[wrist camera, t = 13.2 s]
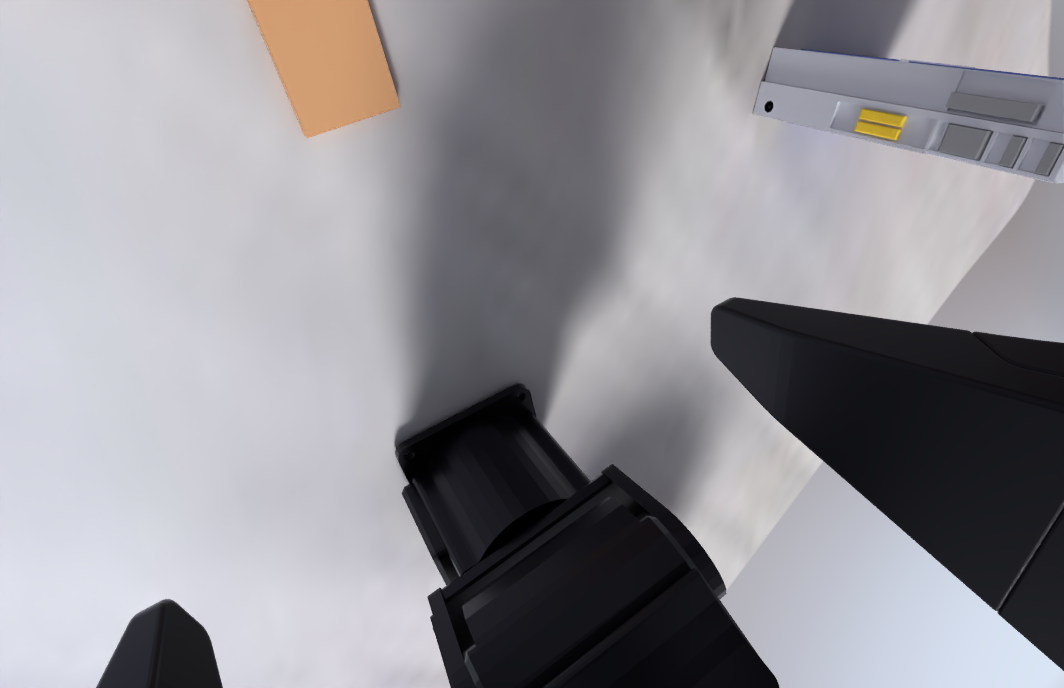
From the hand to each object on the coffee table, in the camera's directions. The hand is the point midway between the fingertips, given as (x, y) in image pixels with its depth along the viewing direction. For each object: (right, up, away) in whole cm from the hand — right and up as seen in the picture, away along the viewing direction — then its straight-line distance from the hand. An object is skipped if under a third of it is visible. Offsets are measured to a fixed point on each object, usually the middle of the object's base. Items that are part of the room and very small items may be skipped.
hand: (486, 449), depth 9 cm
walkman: (+14, +14, +18) cm, 27 cm away
